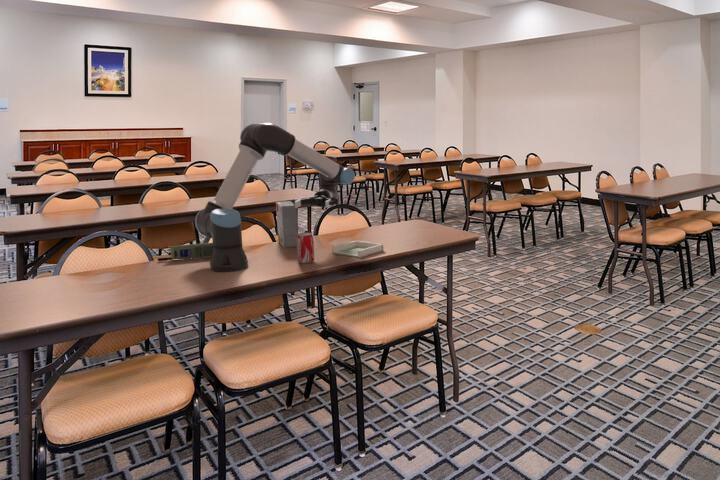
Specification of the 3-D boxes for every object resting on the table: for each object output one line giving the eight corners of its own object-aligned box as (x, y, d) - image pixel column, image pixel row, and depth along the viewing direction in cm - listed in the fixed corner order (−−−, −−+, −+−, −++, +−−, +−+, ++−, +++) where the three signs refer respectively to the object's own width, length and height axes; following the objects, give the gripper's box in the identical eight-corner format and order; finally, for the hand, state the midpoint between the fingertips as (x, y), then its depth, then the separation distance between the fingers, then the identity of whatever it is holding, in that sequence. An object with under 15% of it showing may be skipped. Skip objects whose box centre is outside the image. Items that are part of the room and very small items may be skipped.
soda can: (311, 264, 232) (310, 235, 229) (295, 263, 233) (293, 235, 231) (316, 260, 238) (315, 232, 236) (300, 259, 240) (299, 232, 237)
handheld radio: (217, 257, 250) (158, 263, 243) (217, 256, 253) (158, 262, 246) (216, 242, 249) (156, 248, 242) (216, 241, 252) (156, 247, 245)
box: (359, 257, 240) (359, 250, 239) (332, 253, 250) (332, 246, 250) (383, 250, 252) (383, 244, 251) (356, 246, 262) (356, 240, 261)
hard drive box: (277, 242, 279) (275, 201, 275) (293, 240, 281) (291, 200, 277) (283, 248, 264) (280, 205, 260) (299, 246, 266) (297, 204, 263)
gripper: (349, 205, 260) (339, 213, 240) (297, 206, 265) (283, 213, 245) (349, 189, 259) (339, 195, 238) (296, 190, 263) (282, 196, 243)
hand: (310, 204), depth 241 cm, fingers open, 13 cm apart
